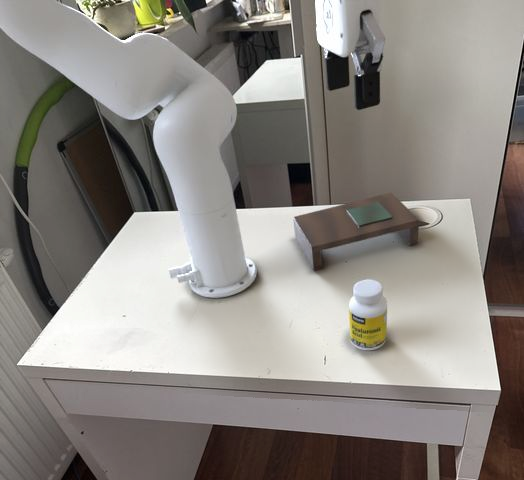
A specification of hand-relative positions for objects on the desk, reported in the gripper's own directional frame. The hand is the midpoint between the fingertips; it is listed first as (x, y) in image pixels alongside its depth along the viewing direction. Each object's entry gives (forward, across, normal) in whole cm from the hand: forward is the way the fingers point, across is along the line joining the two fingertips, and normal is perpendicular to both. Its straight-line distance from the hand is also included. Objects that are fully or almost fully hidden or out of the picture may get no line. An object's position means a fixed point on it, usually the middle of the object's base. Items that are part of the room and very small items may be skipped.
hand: (352, 97), depth 70 cm
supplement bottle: (+31, +14, -5) cm, 34 cm away
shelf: (+30, -13, +4) cm, 33 cm away
